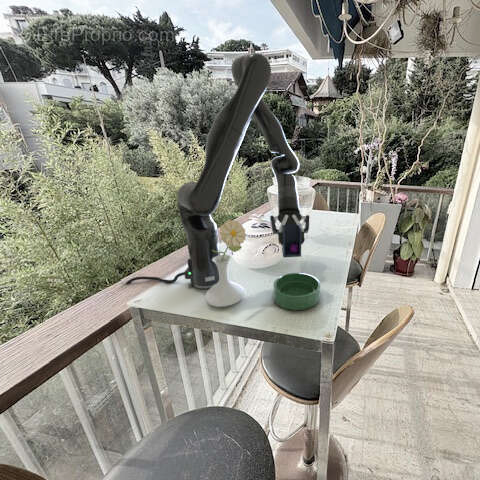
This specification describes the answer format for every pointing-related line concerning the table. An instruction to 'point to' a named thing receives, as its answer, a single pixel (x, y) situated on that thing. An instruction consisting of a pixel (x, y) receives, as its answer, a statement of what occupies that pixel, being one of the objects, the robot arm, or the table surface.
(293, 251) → the ball
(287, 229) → the dark blue block
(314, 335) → the table surface
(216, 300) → the flower in vase
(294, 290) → the bowl
